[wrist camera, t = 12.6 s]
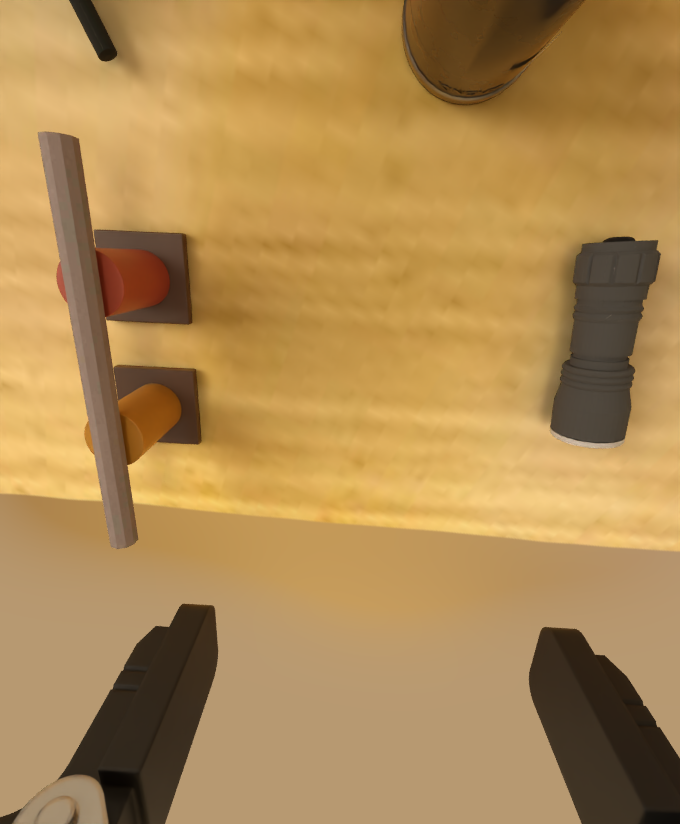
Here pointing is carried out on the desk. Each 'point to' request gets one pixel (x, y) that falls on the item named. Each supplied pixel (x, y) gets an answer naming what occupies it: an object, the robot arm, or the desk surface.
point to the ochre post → (155, 408)
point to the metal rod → (89, 328)
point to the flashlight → (603, 341)
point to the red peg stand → (142, 276)
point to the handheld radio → (94, 29)
